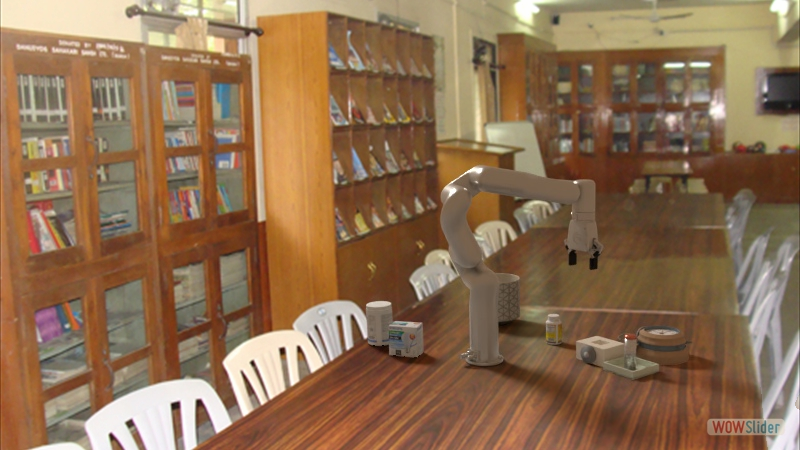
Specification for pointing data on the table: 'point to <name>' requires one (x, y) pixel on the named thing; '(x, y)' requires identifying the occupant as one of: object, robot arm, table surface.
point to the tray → (641, 370)
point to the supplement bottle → (553, 330)
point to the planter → (508, 298)
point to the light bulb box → (406, 339)
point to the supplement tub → (378, 322)
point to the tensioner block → (598, 350)
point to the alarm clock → (661, 345)
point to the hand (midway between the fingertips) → (582, 267)
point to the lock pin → (630, 352)
